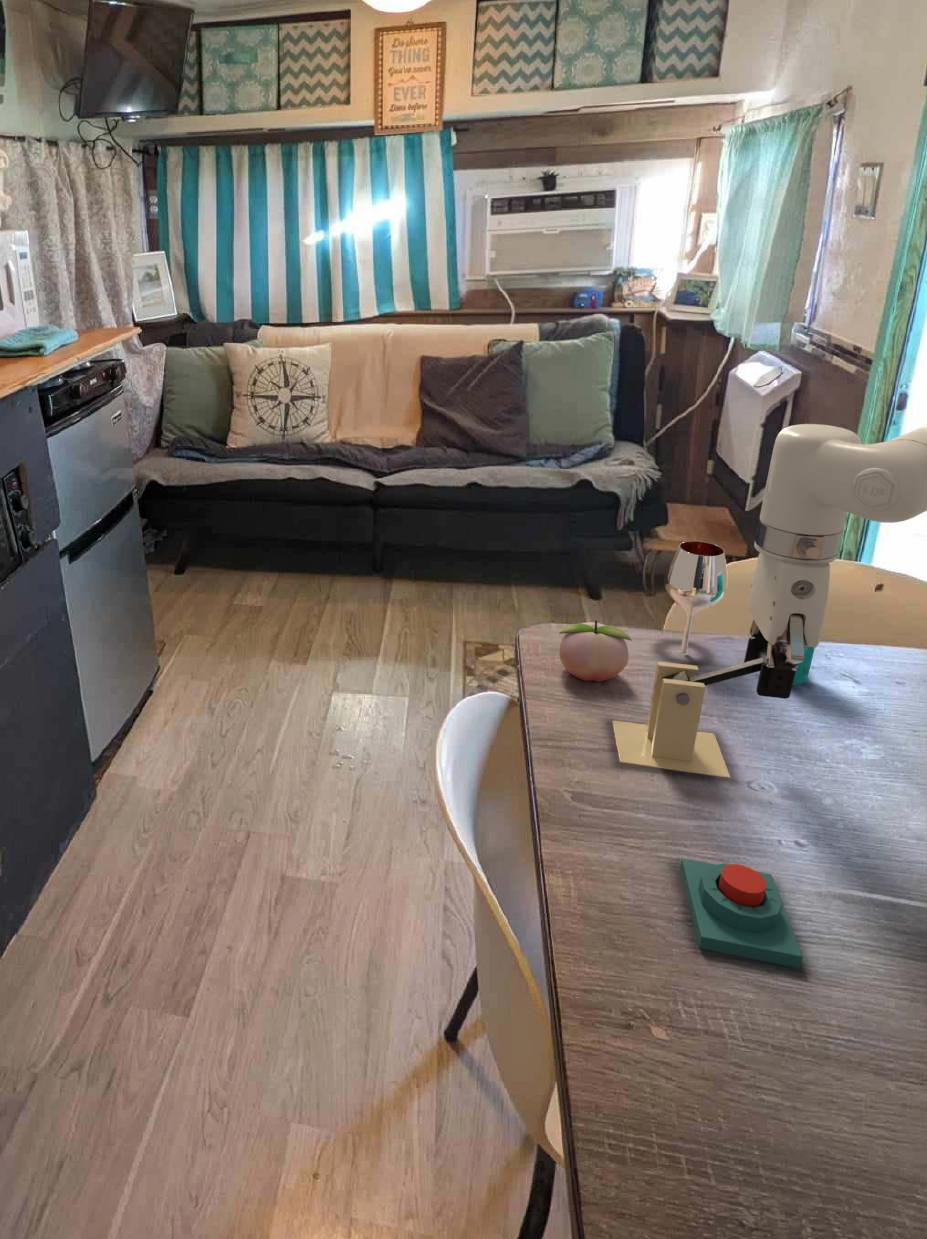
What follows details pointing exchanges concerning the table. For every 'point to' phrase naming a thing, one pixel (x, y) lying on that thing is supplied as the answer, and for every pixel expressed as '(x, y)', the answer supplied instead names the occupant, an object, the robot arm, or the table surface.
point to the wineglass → (696, 580)
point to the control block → (738, 918)
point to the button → (742, 885)
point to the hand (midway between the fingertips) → (765, 680)
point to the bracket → (672, 728)
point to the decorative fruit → (593, 651)
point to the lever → (725, 671)
